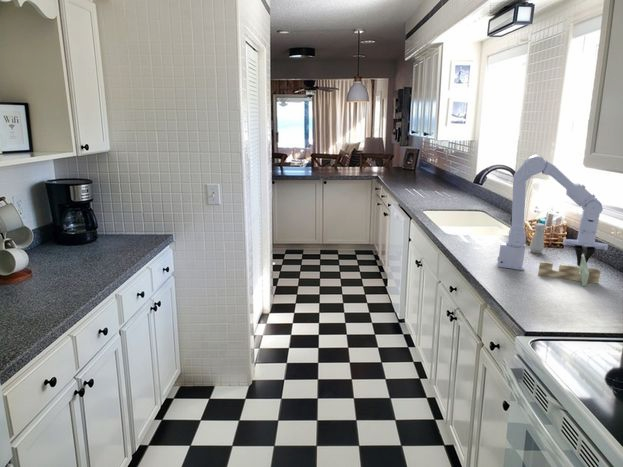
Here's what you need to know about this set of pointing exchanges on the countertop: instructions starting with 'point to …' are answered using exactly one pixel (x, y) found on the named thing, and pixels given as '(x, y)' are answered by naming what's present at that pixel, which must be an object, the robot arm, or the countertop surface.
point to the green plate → (583, 271)
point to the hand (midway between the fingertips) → (581, 265)
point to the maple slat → (567, 272)
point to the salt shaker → (538, 239)
